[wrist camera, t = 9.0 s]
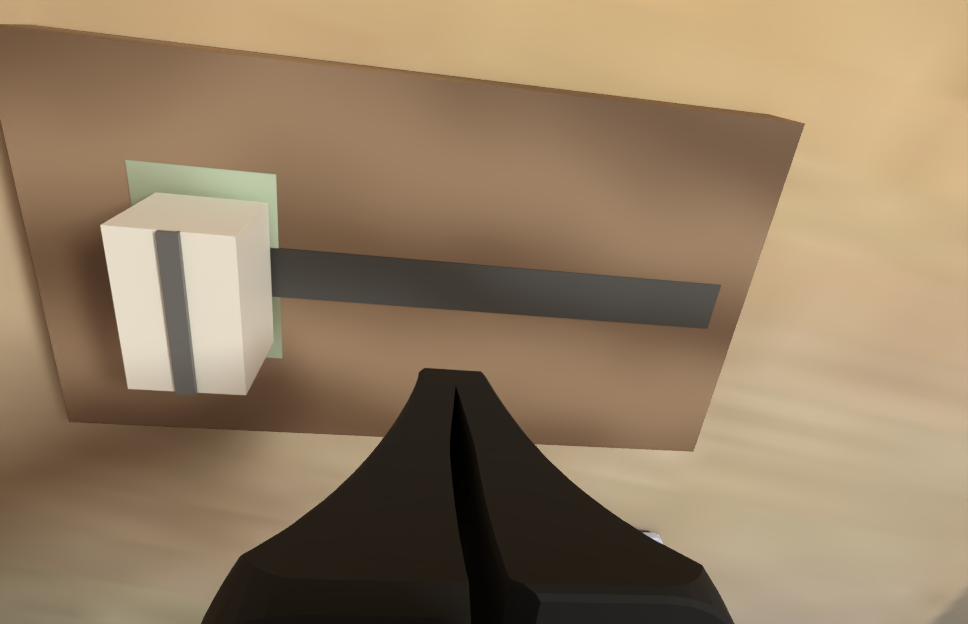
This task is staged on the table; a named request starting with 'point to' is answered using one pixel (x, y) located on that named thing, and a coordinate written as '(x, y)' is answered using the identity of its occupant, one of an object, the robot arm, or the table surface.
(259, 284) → the fader knob
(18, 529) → the table surface
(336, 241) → the fader console
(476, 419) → the robot arm
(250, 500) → the table surface
